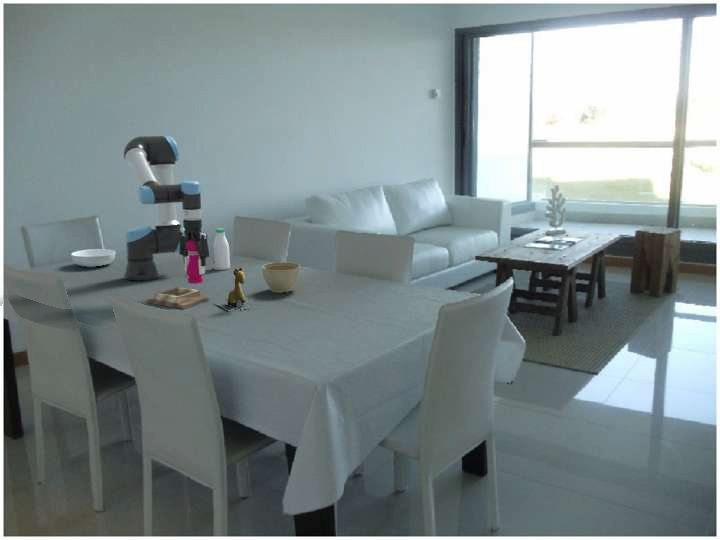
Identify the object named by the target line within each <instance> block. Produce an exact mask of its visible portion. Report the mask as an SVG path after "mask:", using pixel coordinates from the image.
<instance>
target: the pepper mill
mask: <svg viewBox="0 0 720 540" xmlns="http://www.w3.org/2000/svg"><path fill="white" fill-rule="evenodd" d="M198 241H199V240H198ZM186 247H187V249H188V250H189V251H188V254H189V255H188V256H189V264H188V267H187V270H186V272H185V273H186V276H188V277H187V282H188V283H189V284H192V285H193V284H197V285H198V284H201V283H203V282H204V277H203V275H204V274H199V258H200V256H199V253H198V250H197V245H196V244H195V243H194V241H193V240H189V241H188V242H187V244H186Z"/></svg>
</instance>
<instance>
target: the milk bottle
mask: <svg viewBox="0 0 720 540" xmlns="http://www.w3.org/2000/svg"><path fill="white" fill-rule="evenodd" d="M225 234H226V228H225V227H224V228H223V227H222V228H221V227H219V228H215V238H214V241H213V246H212V247H213V249H212V250H213V252H212V253H213V254H212V255H213V257H212V258H213V269H214V270H216V271H225V270H230V268H231V261H230V257H231V256H230V246H229V242H228V240H227V237H226V235H225Z"/></svg>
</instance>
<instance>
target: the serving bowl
mask: <svg viewBox="0 0 720 540" xmlns="http://www.w3.org/2000/svg"><path fill="white" fill-rule="evenodd" d="M70 256H71V259H72V261H73V262H74V263H75V264H76V265H78V266H81V267H85V266H86V268H96V267H95V266H101V267H103V266H102V265H104V266H106V265H109V264H110V263H112V262H114V259H115V258H116V250H113V249H108V248H107V249H105V248H92V249H82V250H76V251H74V252H72V253H71V254H70Z"/></svg>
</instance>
